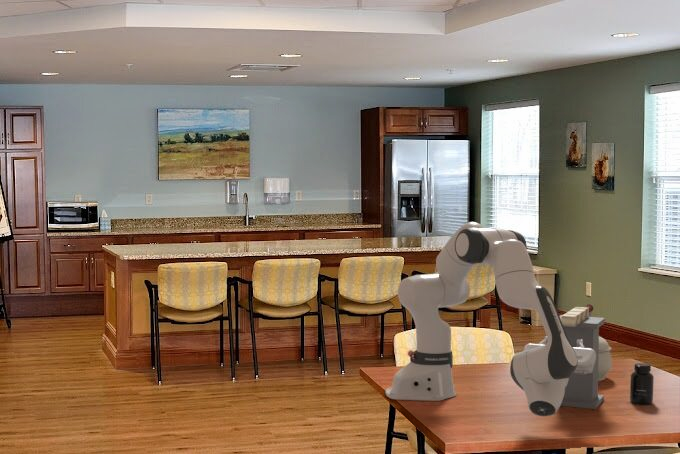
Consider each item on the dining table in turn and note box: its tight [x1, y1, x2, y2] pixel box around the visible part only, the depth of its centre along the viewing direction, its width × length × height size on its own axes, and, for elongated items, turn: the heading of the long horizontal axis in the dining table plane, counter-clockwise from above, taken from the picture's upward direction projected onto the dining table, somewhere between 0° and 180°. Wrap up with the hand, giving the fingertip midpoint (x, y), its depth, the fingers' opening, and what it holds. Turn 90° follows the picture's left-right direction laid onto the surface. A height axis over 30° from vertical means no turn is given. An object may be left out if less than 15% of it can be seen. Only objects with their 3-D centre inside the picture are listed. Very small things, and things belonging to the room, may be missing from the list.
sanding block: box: [561, 306, 589, 327], centre depth 300 cm, size 21×4×3 cm, turn 155°
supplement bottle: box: [629, 362, 655, 406], centre depth 306 cm, size 7×7×12 cm
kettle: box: [584, 304, 613, 382], centre depth 343 cm, size 25×18×25 cm
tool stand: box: [559, 314, 606, 410], centre depth 305 cm, size 13×14×26 cm
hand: (564, 339), depth 287 cm, fingers open, 8 cm apart
